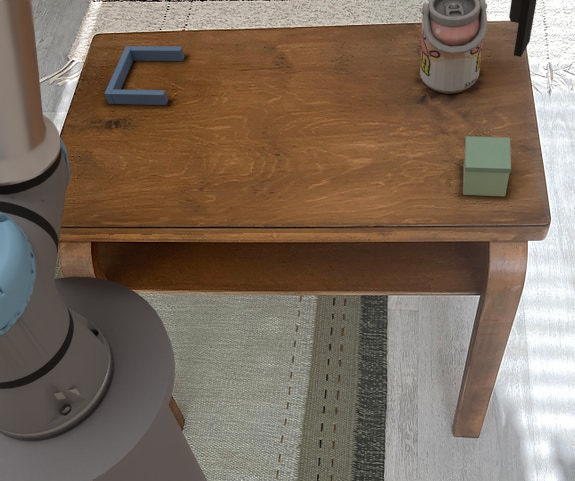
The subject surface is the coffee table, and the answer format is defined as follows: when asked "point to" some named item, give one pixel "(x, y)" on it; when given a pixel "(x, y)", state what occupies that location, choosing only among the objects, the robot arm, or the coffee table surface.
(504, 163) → the toy box
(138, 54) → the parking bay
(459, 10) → the beverage can
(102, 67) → the coffee table surface
